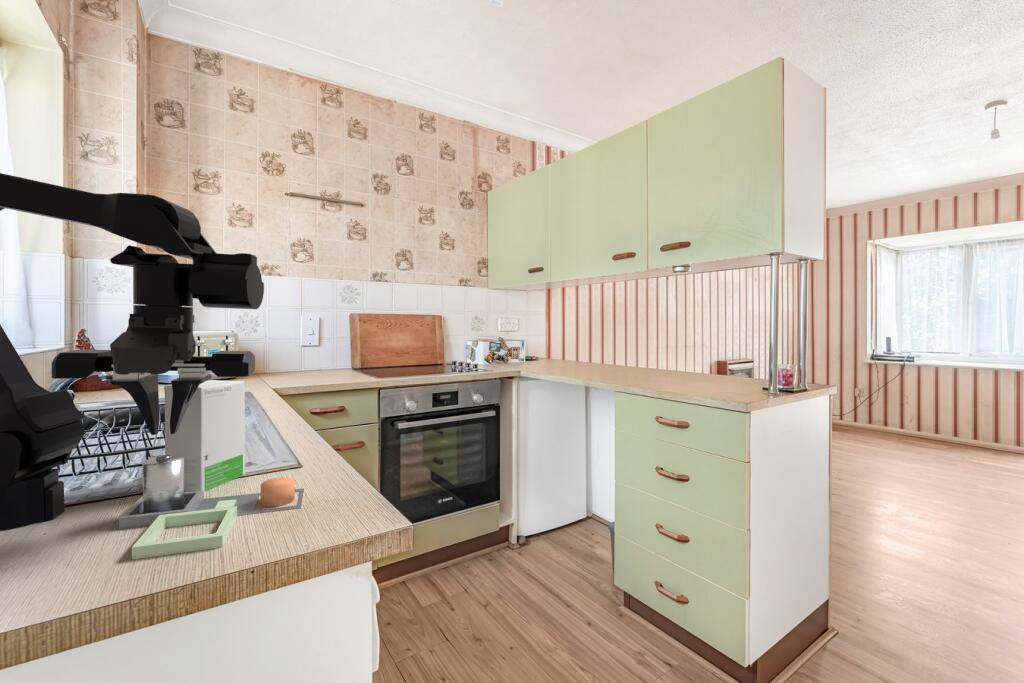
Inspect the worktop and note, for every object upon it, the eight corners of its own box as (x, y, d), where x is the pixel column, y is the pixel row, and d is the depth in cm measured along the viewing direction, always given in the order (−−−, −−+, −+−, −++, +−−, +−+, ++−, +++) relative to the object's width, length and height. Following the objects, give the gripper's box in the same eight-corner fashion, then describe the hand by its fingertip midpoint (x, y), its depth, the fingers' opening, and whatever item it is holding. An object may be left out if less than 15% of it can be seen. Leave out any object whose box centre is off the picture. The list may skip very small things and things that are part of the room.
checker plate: (116, 538, 51) (115, 519, 51) (140, 512, 58) (140, 496, 57) (300, 515, 58) (300, 498, 58) (304, 495, 65) (304, 480, 64)
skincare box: (200, 500, 62) (199, 388, 61) (160, 495, 63) (159, 385, 62) (247, 479, 70) (247, 380, 69) (211, 475, 71) (211, 377, 70)
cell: (137, 522, 53) (136, 462, 53) (150, 508, 57) (149, 452, 56) (178, 517, 54) (177, 459, 54) (188, 504, 58) (187, 450, 58)
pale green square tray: (132, 568, 45) (131, 547, 45) (159, 533, 52) (159, 515, 52) (222, 555, 48) (222, 535, 48) (237, 523, 55) (237, 506, 55)
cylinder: (258, 509, 58) (258, 490, 57) (263, 497, 61) (263, 479, 61) (293, 505, 59) (293, 486, 59) (295, 493, 63) (295, 476, 63)
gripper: (17, 300, 43) (20, 460, 44) (240, 309, 50) (239, 447, 51) (77, 302, 54) (79, 432, 54) (256, 309, 61) (255, 424, 61)
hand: (164, 433), depth 55 cm, fingers closed
